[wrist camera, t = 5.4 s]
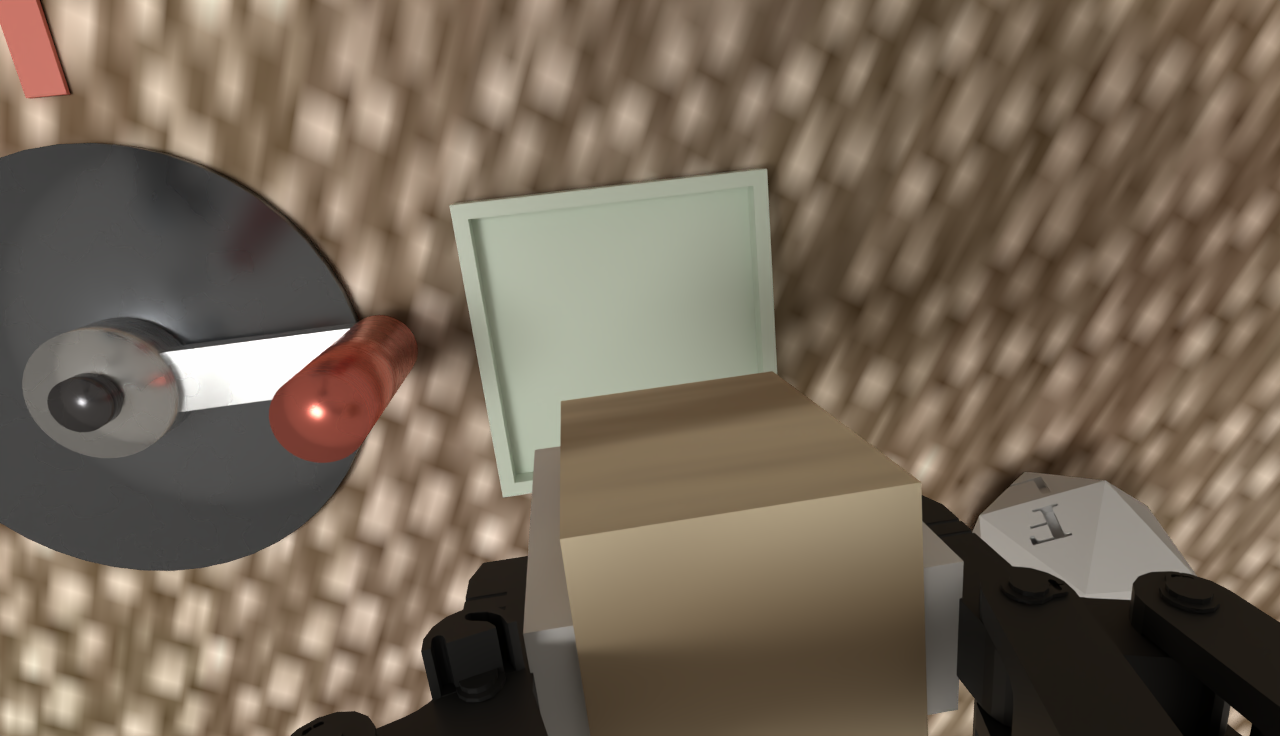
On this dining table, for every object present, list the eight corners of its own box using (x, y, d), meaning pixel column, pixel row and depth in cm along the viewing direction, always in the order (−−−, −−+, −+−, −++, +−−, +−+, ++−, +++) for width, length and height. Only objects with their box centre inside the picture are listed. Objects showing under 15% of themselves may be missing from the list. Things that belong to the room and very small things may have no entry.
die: (1107, 441, 36) (1154, 453, 27) (1188, 613, 34) (1267, 688, 25) (941, 490, 39) (933, 516, 30) (1007, 650, 38) (1020, 728, 29)
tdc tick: (-8, -12, 24) (-13, -13, 24) (34, -15, 25) (30, -16, 24) (29, 98, 25) (26, 97, 25) (70, 94, 26) (66, 93, 25)
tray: (454, 203, 28) (449, 205, 27) (756, 168, 29) (767, 168, 28) (505, 482, 32) (503, 497, 31) (771, 442, 33) (781, 455, 32)
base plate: (-196, 171, 25) (-332, 174, 21) (313, 119, 27) (272, 112, 23) (-7, 594, 31) (-88, 657, 27) (409, 530, 32) (389, 581, 28)
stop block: (560, 401, 16) (559, 539, 9) (772, 370, 16) (920, 481, 10) (589, 595, 17) (607, 846, 10) (787, 563, 18) (928, 784, 11)
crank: (87, 444, 28) (-100, 559, 20) (43, 326, 27) (-178, 399, 19) (431, 397, 30) (385, 487, 21) (407, 281, 28) (347, 331, 20)
